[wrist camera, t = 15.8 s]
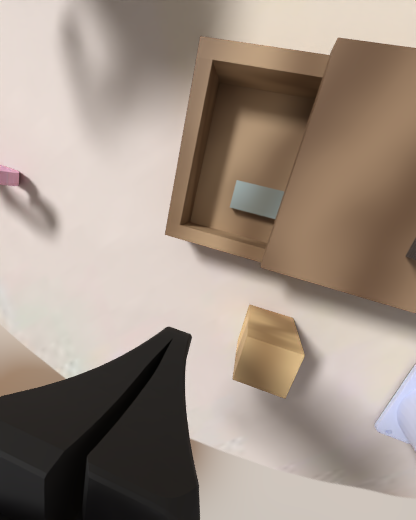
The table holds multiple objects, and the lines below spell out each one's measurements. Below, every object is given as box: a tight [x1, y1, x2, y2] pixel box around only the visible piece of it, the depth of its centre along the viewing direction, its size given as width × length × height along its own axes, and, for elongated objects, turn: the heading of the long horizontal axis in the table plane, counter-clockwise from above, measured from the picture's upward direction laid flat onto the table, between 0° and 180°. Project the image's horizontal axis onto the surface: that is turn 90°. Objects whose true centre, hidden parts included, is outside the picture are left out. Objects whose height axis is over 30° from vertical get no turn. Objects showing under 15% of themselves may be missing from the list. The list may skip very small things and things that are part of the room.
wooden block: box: [233, 305, 305, 398], centre depth 18 cm, size 4×4×5 cm
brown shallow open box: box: [165, 36, 330, 262], centre depth 15 cm, size 14×12×3 cm
